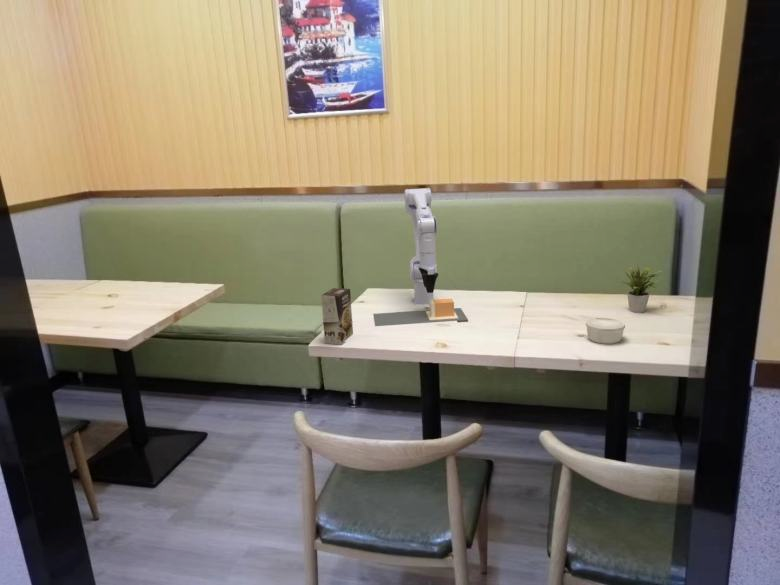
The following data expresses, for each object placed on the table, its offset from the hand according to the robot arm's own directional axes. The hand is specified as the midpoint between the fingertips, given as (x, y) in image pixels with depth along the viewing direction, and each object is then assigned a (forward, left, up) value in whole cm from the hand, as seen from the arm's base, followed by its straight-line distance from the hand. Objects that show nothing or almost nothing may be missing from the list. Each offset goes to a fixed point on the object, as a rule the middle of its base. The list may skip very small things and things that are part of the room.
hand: (428, 289), depth 207 cm
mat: (+3, -4, -9) cm, 11 cm away
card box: (+3, +4, -9) cm, 10 cm away
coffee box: (+19, -32, -10) cm, 38 cm away
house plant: (+12, +71, -10) cm, 73 cm away
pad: (+3, +4, -9) cm, 11 cm away
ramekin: (+35, +49, -10) cm, 61 cm away
